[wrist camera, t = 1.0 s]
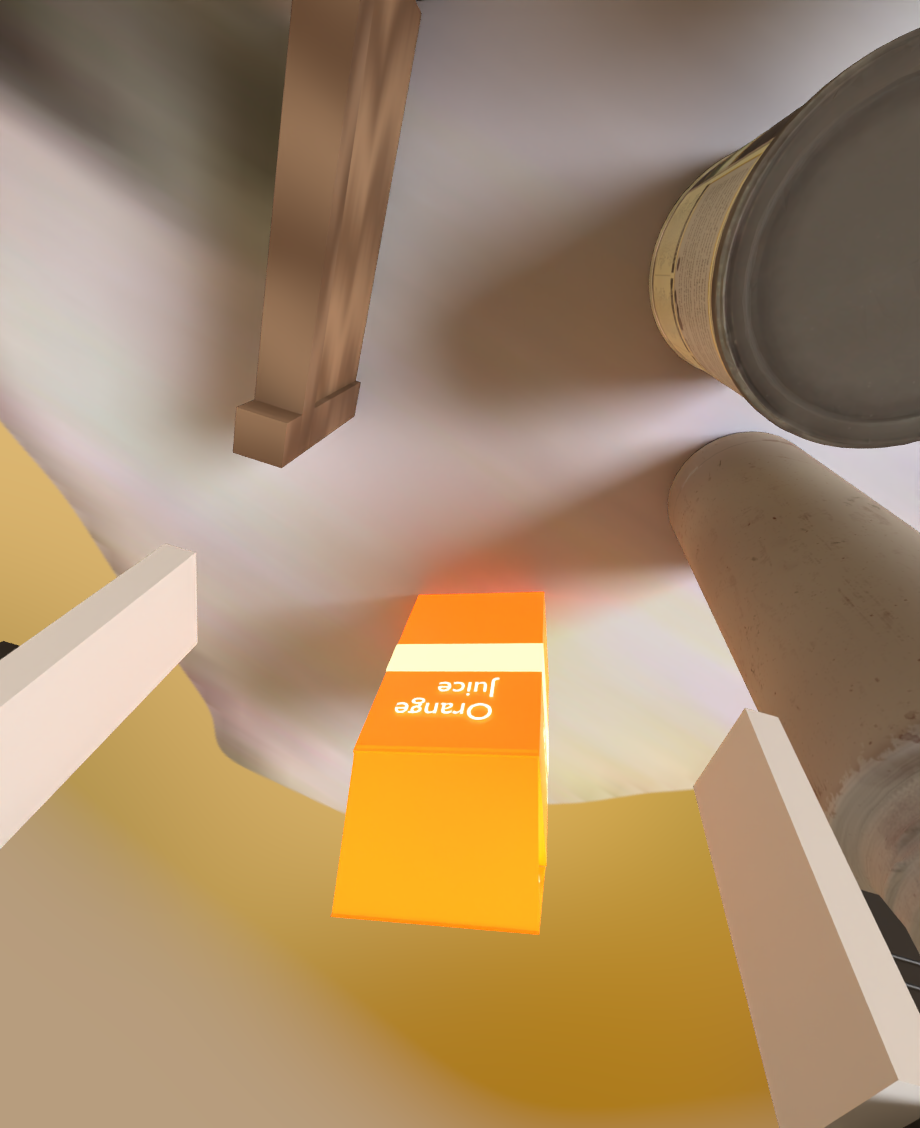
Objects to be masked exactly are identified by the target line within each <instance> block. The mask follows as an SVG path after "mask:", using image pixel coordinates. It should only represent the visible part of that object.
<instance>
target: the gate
mask: <svg viewBox="0 0 920 1128" xmlns="http://www.w3.org/2000/svg"><path fill="white" fill-rule="evenodd" d="M421 14H422V13H421V11H420V9H419V7H418V5H417V3H416V1H415V0H292V9H291V19H290V30H289V41H288V51H287V62H286V72H285V83H284V93H283V104H282V115H281V125H280V136H279V146H278V157H277V168H276V178H275V189H274V199H273V210H272V221H271V231H270V242H269V252H268V263H267V274H266V284H265V295H264V305H263V316H262V327H261V337H260V348H259V358H258V369H257V380H256V390H255V400H253V401H250V402H248V403H245V404H243V405H241V406H238V407H236V418H235V431H234V444H233V453H236V454H239V455H242V456H245V457H249V458H252V459H255V460H258V461H261V462H264V463H267V464H270V465H273V466H277V467H280V468H282V467H284V466H285V465H287V464H288V463H289V462H291V461H292V460H294V459H295V458H296V457H298V456H299V455H301V454H302V453H303V452H305V451H306V450H308V449H309V448H310V447H312V446H313V445H315V444H316V443H317V442H319V441H320V440H322V439H323V438H325V437H326V436H327V435H329V434H330V433H332V432H333V431H334V430H336V429H337V428H339V427H340V426H341V425H343V424H344V423H346V422H347V421H348V420H350V419H351V418H353V417H354V416H355V410H356V405H357V399H358V394H359V388H360V383H361V382H358V381H356V376H357V370H358V365H359V359H360V354H361V348H362V342H363V337H364V331H365V326H366V320H367V315H368V309H369V304H370V298H371V292H372V287H373V281H374V276H375V270H376V265H377V259H378V253H379V248H380V242H381V237H382V231H383V226H384V220H385V215H386V209H387V203H388V198H389V192H390V187H391V181H392V176H393V170H394V165H395V159H396V153H397V148H398V142H399V137H400V131H401V126H402V120H403V115H404V109H405V103H406V98H407V92H408V87H409V81H410V76H411V70H412V64H413V59H414V53H415V48H416V42H417V37H418V31H419V26H420V20H421Z"/></svg>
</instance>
